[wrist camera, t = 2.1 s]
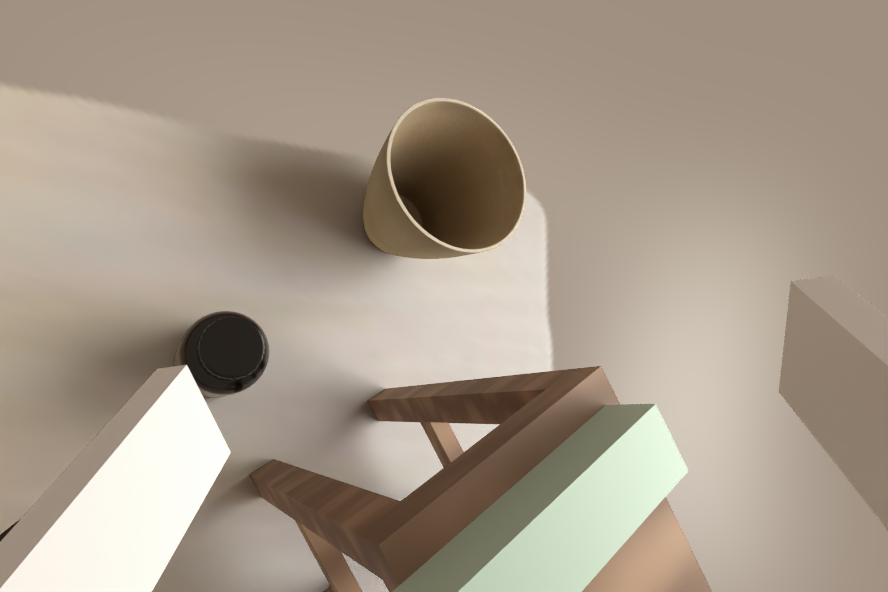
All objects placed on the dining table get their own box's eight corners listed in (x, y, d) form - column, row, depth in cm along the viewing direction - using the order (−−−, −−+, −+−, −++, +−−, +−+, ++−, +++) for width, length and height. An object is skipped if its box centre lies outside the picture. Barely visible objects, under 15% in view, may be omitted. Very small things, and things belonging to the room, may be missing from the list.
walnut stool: (452, 515, 60) (716, 600, 32) (328, 619, 51) (542, 853, 24) (386, 388, 59) (601, 365, 31) (249, 474, 50) (378, 545, 23)
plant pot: (302, 217, 58) (352, 156, 44) (387, 142, 65) (452, 69, 51) (398, 314, 61) (472, 285, 47) (468, 232, 68) (550, 187, 54)
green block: (605, 405, 31) (655, 403, 28) (635, 465, 31) (688, 470, 28) (193, 765, 19) (203, 832, 16) (248, 861, 19) (268, 946, 16)
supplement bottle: (220, 311, 52) (240, 285, 42) (266, 364, 53) (297, 352, 43) (157, 356, 49) (161, 341, 38) (207, 413, 50) (225, 412, 39)
